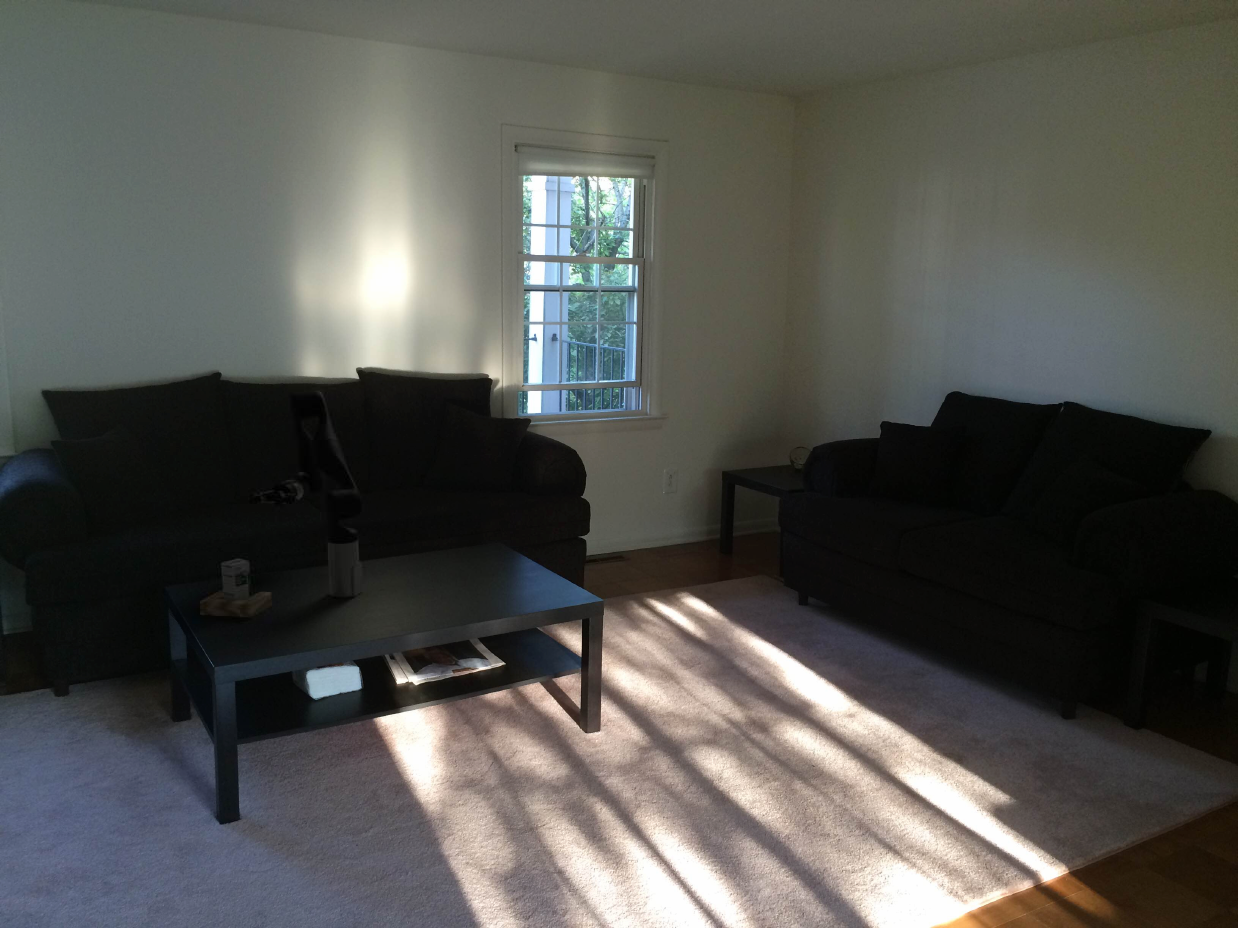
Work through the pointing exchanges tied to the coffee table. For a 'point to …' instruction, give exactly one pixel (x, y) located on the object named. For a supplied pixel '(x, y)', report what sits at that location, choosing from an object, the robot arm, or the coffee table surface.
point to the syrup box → (236, 580)
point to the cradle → (235, 605)
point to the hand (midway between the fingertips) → (263, 502)
